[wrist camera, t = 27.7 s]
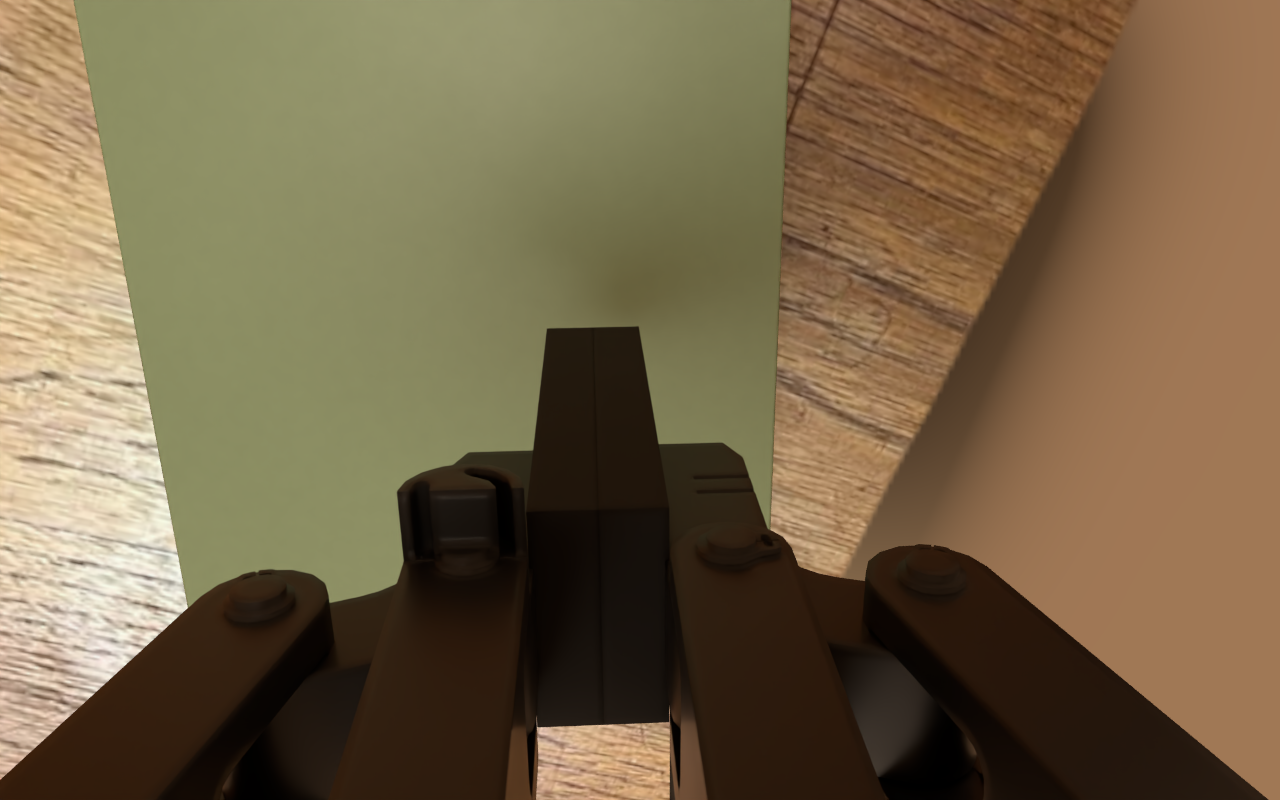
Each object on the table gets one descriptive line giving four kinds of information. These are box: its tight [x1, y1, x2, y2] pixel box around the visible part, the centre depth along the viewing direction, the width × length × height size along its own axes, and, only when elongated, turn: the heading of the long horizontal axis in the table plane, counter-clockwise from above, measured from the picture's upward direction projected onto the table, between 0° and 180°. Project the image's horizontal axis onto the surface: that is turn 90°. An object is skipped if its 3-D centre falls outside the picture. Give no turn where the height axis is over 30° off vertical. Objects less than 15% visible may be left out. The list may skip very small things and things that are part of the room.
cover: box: [74, 0, 792, 608], centre depth 23 cm, size 14×16×1 cm
